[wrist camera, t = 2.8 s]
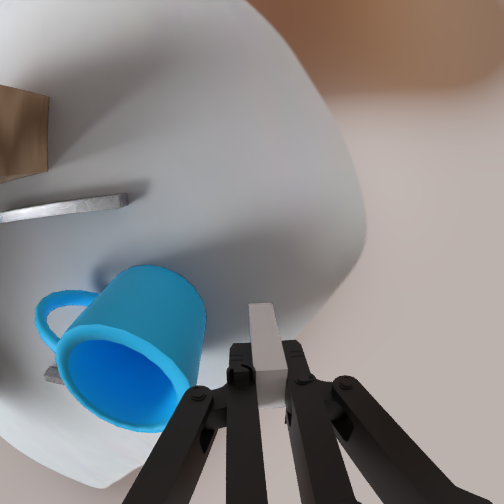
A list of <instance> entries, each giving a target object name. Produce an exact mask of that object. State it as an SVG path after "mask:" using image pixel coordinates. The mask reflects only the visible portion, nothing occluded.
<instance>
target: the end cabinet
mask: <svg viewBox="0 0 504 504" xmlns="http://www.w3.org/2000/svg"><path fill="white" fill-rule="evenodd" d="M48 107H49V97H47V96H43V95H40V94H36V93H32V92H28V91H24V90H20V89H16V88H12V87H8V86H3V85H0V184H1V183H4V182H8V181H11V180H15V179H18V178H22V177H26V176H29V175H33V174H37V173H41V172H46V171H48V167H47V125H48Z"/></svg>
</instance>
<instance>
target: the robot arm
mask: <svg viewBox="0 0 504 504" xmlns="http://www.w3.org/2000/svg"><path fill="white" fill-rule="evenodd" d="M249 337H250V343H233V345H232V346H231V348H230V354H229V368H228V369H227V372H226V373H227V383H226V384H225V385H224V386H223V387H221V388H218V389H215V390H210V389H209V388H208V387H205V386H193V387H190V388H189V389H187V390H186V391H185V393H184V395H183V396H182V398H181V400H180V402H179V404H178V405H177V407H176V409H175V411H174V413H173V414H172V416H171V418H170V420H169V421H168V423H167V425H166V427H165V429H164V430H163V432H162V434H161V436H160V437H159V439H158V441H157V443H156V445H155V446H154V448H153V450H152V452H151V453H150V455H149V457H148V459H147V461H146V462H145V464H144V466H143V468H142V469H141V471H140V473H139V475H138V476H137V478H136V480H135V482H134V483H133V485H132V487H131V489H130V490H129V492H128V494H127V496H126V498H125V499H124V501H123V503H122V504H189V502H190V499H191V497H192V494H193V492H194V490H195V487H196V485H197V482H198V480H199V477H200V475H201V472H202V470H203V467H204V465H205V462H206V460H207V457H208V454H209V452H210V449H211V447H212V444H213V441H214V439H215V436H216V434H217V431H218V429H219V428H223V427H227V436H226V437H227V438H226V439H227V440H226V504H268V500H267V490H266V481H265V471H264V461H263V451H262V440H261V430H260V420H259V409H268V408H282V407H285V404H286V416H285V424H287V425H288V431H289V436H290V442H291V447H292V453H293V458H294V464H295V469H296V475H297V481H298V486H299V492H300V497H301V503H302V504H362V503H360V502H357V500H356V499H355V496H354V493H353V490H352V487H351V483H350V480H349V477H348V474H347V471H346V468H345V464H344V461H343V458H342V455H341V452H340V449H339V445H338V442H337V439H338V440H339V442H340V443H341V445H342V446H343V448H344V449H345V450H346V452H347V453H348V455H349V456H350V458H351V459H352V461H353V462H354V463H355V465H356V466H357V468H358V469H359V471H360V472H361V473H362V475H363V476H364V478H365V479H366V480H367V482H368V483H369V484H370V486H371V487H372V488H373V490H374V491H375V493H376V494H377V495H378V497H379V498H380V499H381V501H382V502H383V503H384V504H492V502H490V501H489V500H487V499H484V498H482V497H480V496H477V495H474V494H472V493H470V492H468V491H465V490H463V489H461V488H458V487H456V486H455V485H454V484H453V483H452V482H451V481H450V480H449V479H448V478H447V477H446V476H445V474H444V473H443V472H442V471H441V470H440V469H439V468H438V467H437V466H436V465H435V464H434V463H433V462H432V461H431V459H430V458H428V456H427V455H426V454H425V453H424V452H423V451H422V450H421V449H420V448H419V447H418V445H417V444H416V443H415V442H414V441H413V440H412V439H411V438H410V437H409V436H408V435H407V434H406V432H405V431H404V430H403V429H402V428H401V427H400V426H399V425H398V424H397V423H396V422H395V421H394V419H393V418H392V417H391V416H390V415H389V414H388V413H387V412H386V411H385V410H384V409H383V407H382V406H381V405H379V403H378V402H377V401H376V400H375V399H374V398H373V397H372V395H371V394H369V392H368V391H367V390H366V389H365V388H364V387H363V386H362V385H361V383H360V382H359V381H358V380H357V379H355V378H354V377H351V376H345V375H344V376H339V377H337V378H335V380H334V381H333V382H324V381H320V380H318V379H316V378H315V376H314V375H313V374H311V373H310V370H309V367H308V364H307V361H306V358H305V355H304V352H303V349H302V346H301V344H300V343H299V342H298V341H296V340H285V341H281V338H280V334H279V330H278V326H277V322H276V317H275V313H274V309H273V305H272V303H252V304H249ZM336 438H337V439H336Z"/></svg>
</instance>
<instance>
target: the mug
mask: <svg viewBox="0 0 504 504" xmlns="http://www.w3.org/2000/svg"><path fill="white" fill-rule="evenodd" d="M67 305H83V306H88V307H87V308H86V309H85V310H84V311H83V312H82V313H81V315H80V316H79V317H78V318H77V319H76V320H75V321H74V322H73V324H72V325H71V326H70V327H69V328H68V329H67V330H66V332H65V333H64V334H63V336H62V337H61V339H60V338H58V337H57V336H56V335H55V334H54V332H53V331H52V330H51V329H50V328H49V326H48V324H47V316H48V314H49V313H50V312H51V311H53V310H54V309H56V308H58V307H62V306H67ZM35 325H36V327H37V330H38V332H39V334H40V337H41V339H42V340H43V341H44V342H45V343H46V344H47V345H48V347H49V348H50V349H51V350H52V351H53V352H54V353H56V363H57V367H58V370H59V374H60V377H61V378H62V380H63V382H64V383H65V385H66V387H67V388H68V390H69V391H70V393H71V394H72V395H73V396H74V397H75V398H76V399H77V400H78V401H79V402H80V403H81V404H82V405H83V406H84V407H85V408H86V409H88V410H89V411H91V412H92V413H93V414H95V415H96V416H98V417H99V418H101V419H103V420H105V421H107V422H109V423H111V424H113V425H115V426H117V427H121V428H124V429H128V430H132V431H136V432H147V433H158V432H163V430H164V429H165V427H166V425H167V423H168V421H169V420H170V418H171V416H172V414H173V413H174V411H175V409H176V407H177V405H178V404H179V402H180V400H181V398H182V396H183V395H184V393H185V391H186V390H187V389H189V388H190V387H193V386H196V384H197V377H198V370H199V364H200V357H201V351H202V345H203V339H204V333H205V325H206V313H205V309H204V304H203V301H202V300H201V298H200V297H199V295H198V293H197V292H196V290H195V288H194V287H193V286H192V285H191V284H189V283H188V282H187V281H186V280H185V279H184V278H183V277H182V276H181V275H178V274H176V273H174V272H172V271H170V270H168V269H166V268H164V267H158V266H153V265H141V266H134V267H131V268H129V269H127V270H125V271H123V272H122V273H120V274H118V275H117V276H116V277H115V278H114V279H113V280H112V282H111V283H110V284H109V285H108V286H107V287H106V288H105V289H104V290H103V291H102V292H101V293H100V294H98V293H93V292H87V291H81V290H65V291H59V292H54V293H52V294H50V295H48V296H46V297H44V298H43V299H42V300H41V301H40V303H39V304H38V305H37V307H36V311H35Z"/></svg>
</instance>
